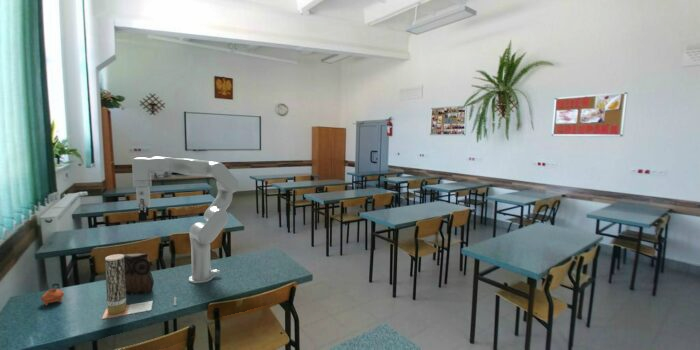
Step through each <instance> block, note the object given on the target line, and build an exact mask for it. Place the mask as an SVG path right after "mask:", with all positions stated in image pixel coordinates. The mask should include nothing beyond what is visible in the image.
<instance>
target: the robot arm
mask: <svg viewBox="0 0 700 350" xmlns="http://www.w3.org/2000/svg"><path fill="white" fill-rule="evenodd" d="M131 167H132V168H131V169H132V187H133V188H135V191H136V193H135V194H136V195H135V196H136V207H137V208H138V222H144V221H146V222H147V221H148V219H147V218H148V217H149V216H150V211H149V208H150V206H151V204H152V201H151V189H150V187H153V186H152V183H153V182H152V173H158V174H159V173H160V174H162V173H176V174H181V175H185V176H194V177H195V176H196V177H211V178H214V179H215V180H216V188H217V194H216V197H215V198H214V200H213V201H212V202H211V203H210V205H209V206H208V207H207V209H206V210H205V211H204V213H203V219H204V220H205V221H206V222H201V221H200V222H199V221H197V222H195V223H193V224H192V225H191V226H190V228H189V233H188V234H189V241H190V251H191V252H190V254H191V255H190V256H191V257H190V259H191V260H190V261H191V262H190V263H191V275H190V276H189V277H188V281H189V283H192V284H204V283H207V282H210V281H212V280H213V279H214V278H215V275H218V274H220V273H221V270H219V269H216V268H215V269H212V267H211V243H212V242H214V241H215V239H217V237H218V236H219V234H220V233H221V232H222V231H223V230H224V228H225V226H226V225H227V223H228V220H229V214H228V212H227V209H228V208H229V207H230V205H231V203H232V200H233V196H234V195H233V194H234V193H236V192H237V191H238V190H239V188H240V184H239V180H238V179H237V178H236V177H235V176H234V174H233V173H232V172H231V171H230V170H229V169H228V167H227V166H226V165H224V164H223V163H222V162H219V161H213V160H202V159H195V158H180V157H179V158H177V157H176V158H175V157H166V156H158V155H157V156H155V155H154V156H151V157H135V158H134V157H133V158H132V160H131Z"/></svg>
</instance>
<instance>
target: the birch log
mask: <svg viewBox="0 0 700 350" xmlns="http://www.w3.org/2000/svg"><path fill="white" fill-rule="evenodd" d="M123 254H124V253H117V254H110V255H107V256H106V257H105V259H104V264H105V266H104V267H105V285H106V287H105V288H106V303H107V304H106V305H107V306H106V308H107V309H108V313H109V314H118V313H121V312H123V311H124V310H125V309H126V305H127V294H126V287H125V264H124V255H125V254H124V255H123Z"/></svg>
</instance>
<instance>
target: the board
mask: <svg viewBox="0 0 700 350" xmlns="http://www.w3.org/2000/svg"><path fill="white" fill-rule="evenodd" d="M153 302H154V301H153V300H148V301H143V302H138V303H131V304H126V309H125V310H124V311H123V312H121V313H118V314H109V313H108V308H106V309H105V310H104V313H103V316H102V318H101V320H106V319H111V318H116V317H122V316H127V315H133V314H138V313H143V312H149V311H152V307H153ZM176 306H177V296H174V297H173V307H176Z"/></svg>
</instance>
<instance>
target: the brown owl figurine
mask: <svg viewBox="0 0 700 350" xmlns="http://www.w3.org/2000/svg"><path fill="white" fill-rule="evenodd" d="M122 254H123V255H124V264H125V287H126V296H127V295H129V296H131V295H133V296H134V295H144V294H148V293H151V292H153V291H154V290H153V288H154V283H155V280H154V277H153V274H152V272H151V271H152V268H151V266H152V265H151V262H150V259H149V257H148V256H149V255H148V254H147V253H128V254H125V253H122Z"/></svg>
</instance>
